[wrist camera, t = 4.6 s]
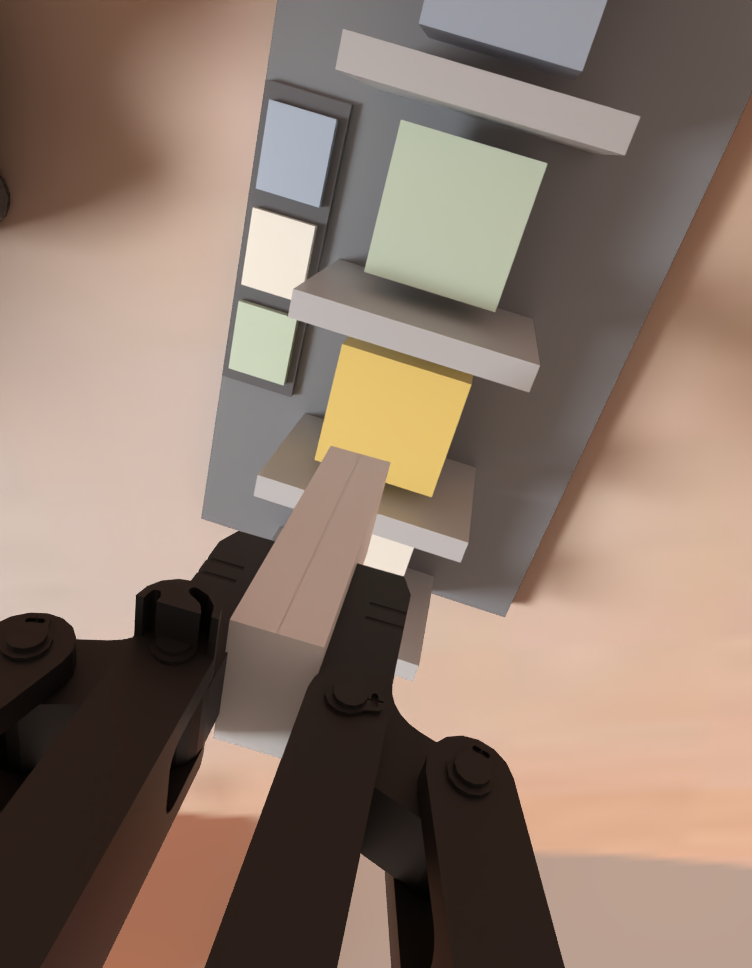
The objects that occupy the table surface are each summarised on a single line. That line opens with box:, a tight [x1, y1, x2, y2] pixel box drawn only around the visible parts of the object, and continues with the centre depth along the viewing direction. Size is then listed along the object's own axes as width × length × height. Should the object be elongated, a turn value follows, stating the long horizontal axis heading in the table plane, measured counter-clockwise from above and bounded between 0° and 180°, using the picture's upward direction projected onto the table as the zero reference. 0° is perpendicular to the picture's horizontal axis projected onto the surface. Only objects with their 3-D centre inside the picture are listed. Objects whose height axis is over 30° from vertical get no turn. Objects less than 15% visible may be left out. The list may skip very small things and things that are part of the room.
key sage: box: [364, 120, 548, 312], centre depth 19 cm, size 4×4×2 cm
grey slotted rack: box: [201, 0, 752, 681], centre depth 20 cm, size 14×24×6 cm, turn 165°
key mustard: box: [315, 336, 473, 497], centre depth 21 cm, size 4×4×2 cm
